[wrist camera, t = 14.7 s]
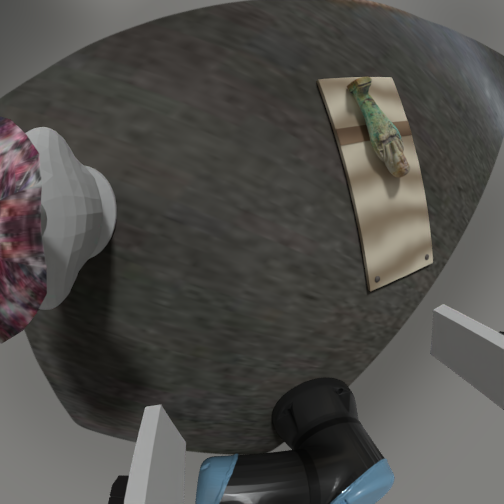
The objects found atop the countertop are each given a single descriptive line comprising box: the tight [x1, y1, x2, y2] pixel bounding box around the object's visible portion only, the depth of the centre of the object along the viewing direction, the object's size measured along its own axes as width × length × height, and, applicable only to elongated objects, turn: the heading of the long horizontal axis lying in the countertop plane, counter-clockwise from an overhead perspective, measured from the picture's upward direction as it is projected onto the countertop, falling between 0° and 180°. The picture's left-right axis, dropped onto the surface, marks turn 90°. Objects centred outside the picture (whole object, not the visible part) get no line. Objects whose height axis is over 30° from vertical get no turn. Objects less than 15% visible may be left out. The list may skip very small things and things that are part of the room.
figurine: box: [347, 76, 410, 178], centre depth 32 cm, size 6×15×4 cm, turn 21°
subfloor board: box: [316, 77, 433, 291], centre depth 36 cm, size 32×14×1 cm, turn 16°
